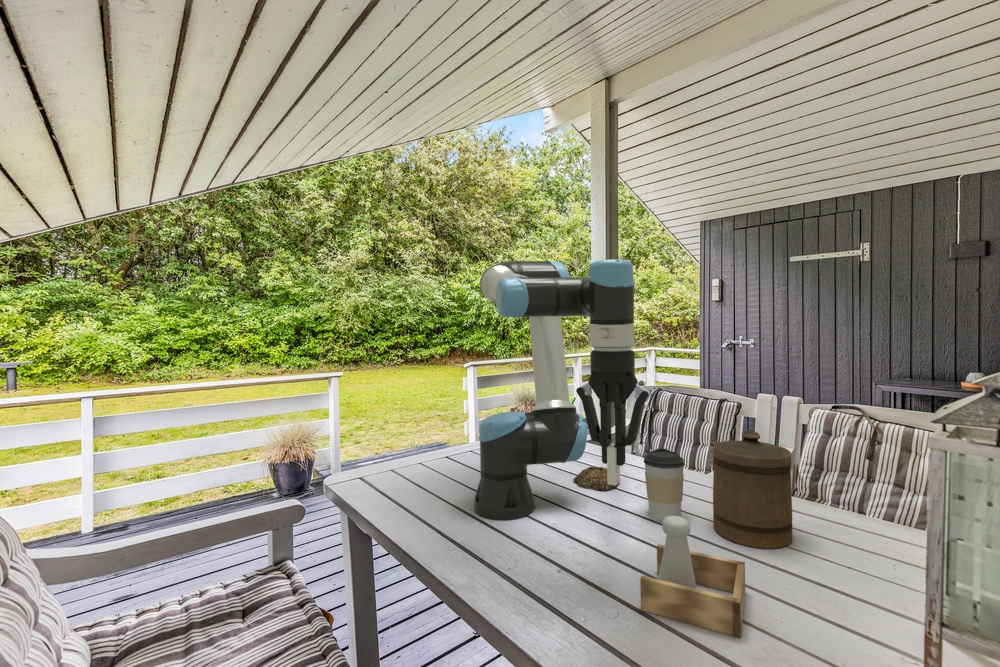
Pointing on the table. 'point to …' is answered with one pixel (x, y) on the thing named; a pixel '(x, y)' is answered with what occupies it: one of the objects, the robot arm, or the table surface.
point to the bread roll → (593, 479)
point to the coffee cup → (664, 483)
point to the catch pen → (700, 594)
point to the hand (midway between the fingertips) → (613, 482)
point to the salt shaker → (677, 553)
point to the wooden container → (752, 492)
